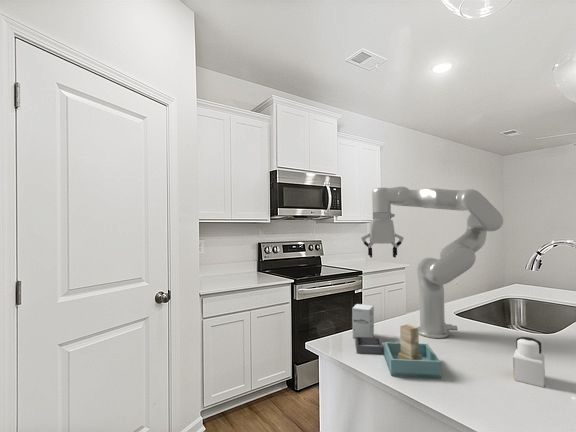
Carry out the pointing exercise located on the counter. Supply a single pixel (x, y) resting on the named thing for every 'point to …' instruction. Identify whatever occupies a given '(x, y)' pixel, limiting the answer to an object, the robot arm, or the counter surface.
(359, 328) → the supplement box
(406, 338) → the strut
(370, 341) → the collar
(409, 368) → the bin
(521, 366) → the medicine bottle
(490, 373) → the counter surface
